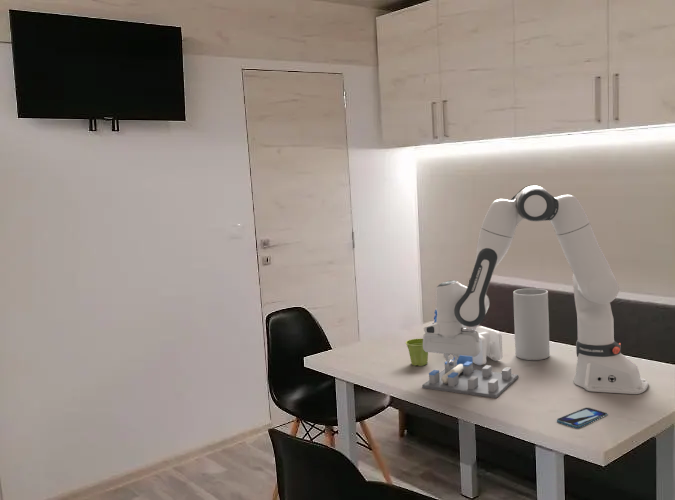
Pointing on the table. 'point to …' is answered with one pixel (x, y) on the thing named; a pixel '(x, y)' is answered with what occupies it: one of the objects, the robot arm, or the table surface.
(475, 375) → the grey peg board
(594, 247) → the robot arm
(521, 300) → the cylinder vase
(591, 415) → the smartphone
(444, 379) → the white capsule
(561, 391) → the table surface
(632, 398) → the table surface
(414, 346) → the plant pot
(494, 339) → the cable organizer
